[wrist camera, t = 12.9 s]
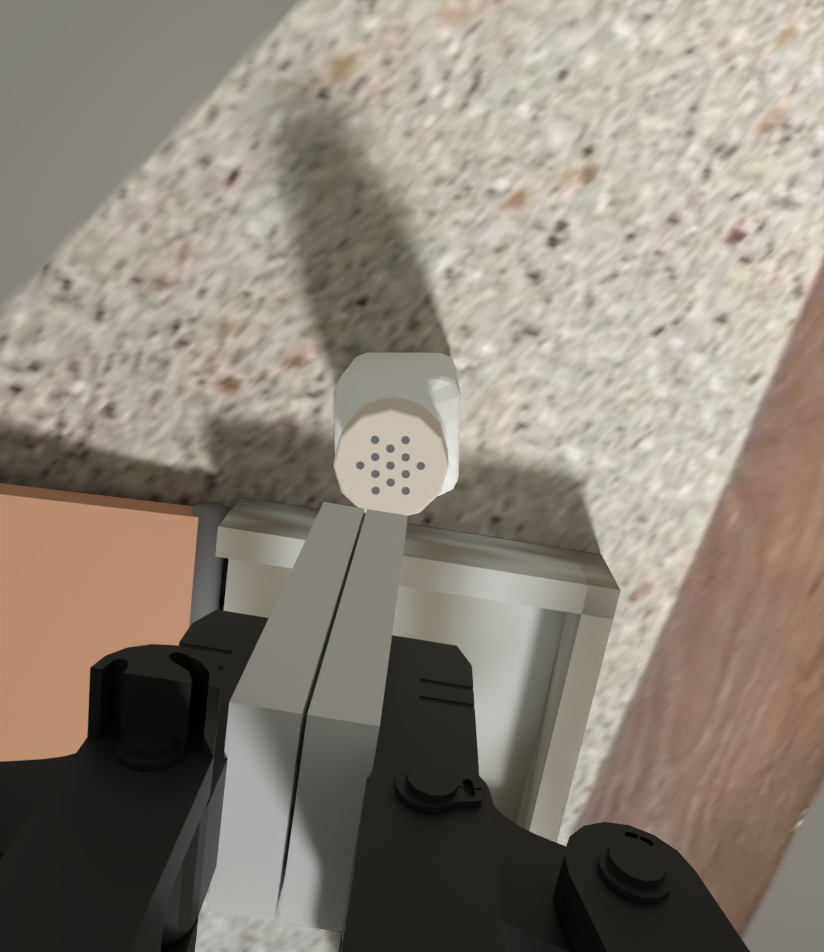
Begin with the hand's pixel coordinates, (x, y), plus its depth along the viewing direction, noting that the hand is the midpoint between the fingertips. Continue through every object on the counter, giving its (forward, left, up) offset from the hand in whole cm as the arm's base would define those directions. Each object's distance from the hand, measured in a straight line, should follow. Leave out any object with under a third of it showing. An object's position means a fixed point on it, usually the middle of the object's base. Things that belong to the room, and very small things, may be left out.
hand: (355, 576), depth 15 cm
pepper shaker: (0, 0, -17) cm, 17 cm away
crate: (+2, -12, -17) cm, 21 cm away
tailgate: (-7, -12, -16) cm, 21 cm away
